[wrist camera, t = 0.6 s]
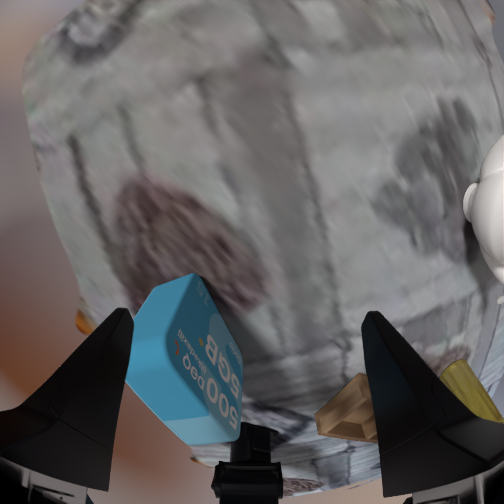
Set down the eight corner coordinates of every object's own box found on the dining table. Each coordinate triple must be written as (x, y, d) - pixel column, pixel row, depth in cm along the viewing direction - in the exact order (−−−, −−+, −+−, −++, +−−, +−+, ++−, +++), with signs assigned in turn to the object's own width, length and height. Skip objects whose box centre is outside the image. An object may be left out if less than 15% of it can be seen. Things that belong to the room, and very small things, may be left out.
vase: (448, 360, 31) (491, 425, 18) (471, 356, 31) (514, 413, 18) (431, 388, 33) (466, 452, 20) (455, 383, 33) (490, 439, 20)
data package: (244, 357, 30) (240, 447, 18) (209, 366, 30) (193, 451, 19) (196, 266, 26) (158, 347, 15) (157, 281, 27) (106, 359, 15)
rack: (416, 432, 38) (422, 445, 35) (313, 415, 34) (317, 435, 30) (452, 400, 35) (460, 413, 32) (359, 372, 31) (367, 393, 27)
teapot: (442, 289, 27) (486, 332, 18) (440, 112, 20) (503, 108, 11) (491, 273, 26) (534, 305, 17) (493, 119, 19) (549, 121, 11)
